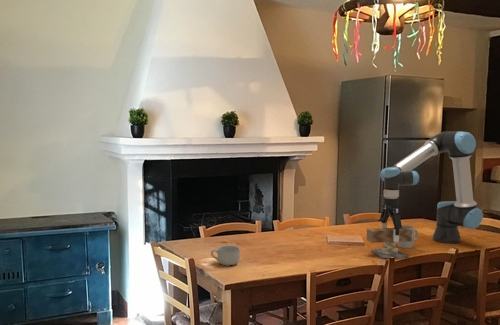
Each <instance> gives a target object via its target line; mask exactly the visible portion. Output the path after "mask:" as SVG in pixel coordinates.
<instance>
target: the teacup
mask: <svg viewBox="0 0 500 325" xmlns="http://www.w3.org/2000/svg"><path fill="white" fill-rule="evenodd" d="M240 250H241V248H240V247H239V246H237V245H233V244H228V245H226V244H225V245H221V246H218V248H217V249H216V248H214V249H212V250H211V251H210V256H211V257H212V258H213V259H214V260H216V261H217V262H219V263H220V264H221V265H222V266H225V265H226V266H225V267H231V266H230V265H233V266H235V265H237V263H238V262H239V261H240V256H241V255H240ZM214 252H216V253H217V256H216V255H214Z"/></svg>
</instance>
